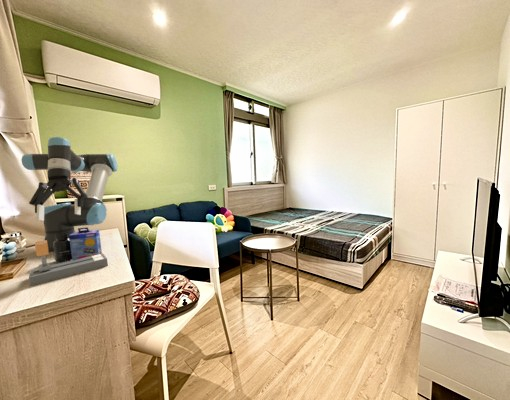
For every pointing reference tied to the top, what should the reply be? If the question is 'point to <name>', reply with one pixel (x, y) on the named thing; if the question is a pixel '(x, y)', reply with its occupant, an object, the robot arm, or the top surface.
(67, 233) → the supplement bottle
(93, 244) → the ink cartridge box
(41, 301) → the top surface
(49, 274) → the fader console
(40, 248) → the fader
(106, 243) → the top surface
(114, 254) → the top surface
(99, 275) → the top surface
